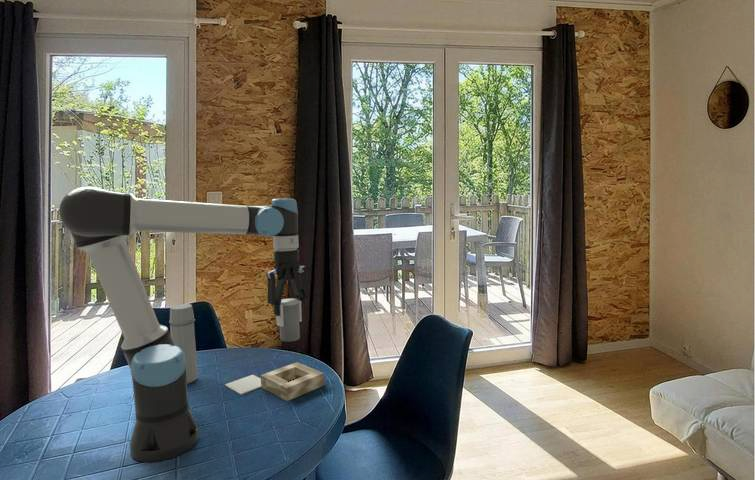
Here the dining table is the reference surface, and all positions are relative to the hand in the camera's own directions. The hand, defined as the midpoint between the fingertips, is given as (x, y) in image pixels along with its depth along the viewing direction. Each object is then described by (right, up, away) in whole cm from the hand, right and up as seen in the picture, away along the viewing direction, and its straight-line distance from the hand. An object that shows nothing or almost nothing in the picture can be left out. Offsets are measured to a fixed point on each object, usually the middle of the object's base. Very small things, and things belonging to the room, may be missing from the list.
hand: (289, 323), depth 137 cm
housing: (+1, -20, +2) cm, 21 cm away
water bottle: (-36, -21, +9) cm, 42 cm away
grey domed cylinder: (0, -5, +1) cm, 5 cm away
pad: (-14, -21, +4) cm, 25 cm away
